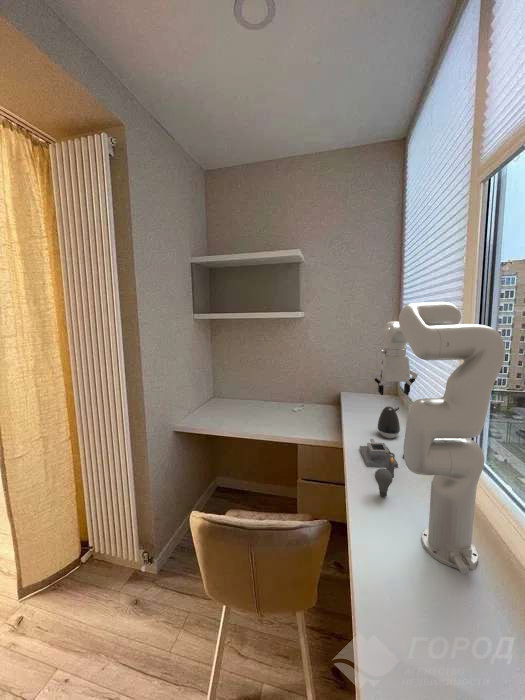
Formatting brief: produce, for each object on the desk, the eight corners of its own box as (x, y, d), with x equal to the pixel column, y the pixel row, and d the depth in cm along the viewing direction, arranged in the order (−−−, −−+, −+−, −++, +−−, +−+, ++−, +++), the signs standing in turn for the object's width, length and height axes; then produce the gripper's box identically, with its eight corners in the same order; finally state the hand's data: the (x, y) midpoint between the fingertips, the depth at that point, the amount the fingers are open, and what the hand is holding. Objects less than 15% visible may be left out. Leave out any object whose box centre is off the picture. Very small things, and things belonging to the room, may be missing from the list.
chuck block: (398, 467, 112) (398, 456, 111) (367, 466, 114) (367, 455, 113) (385, 447, 128) (385, 436, 127) (358, 446, 130) (358, 436, 129)
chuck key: (396, 481, 103) (397, 458, 102) (388, 481, 104) (389, 458, 102) (390, 470, 110) (391, 449, 109) (383, 470, 111) (383, 449, 109)
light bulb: (392, 493, 97) (393, 467, 95) (391, 503, 92) (392, 476, 91) (375, 489, 99) (375, 463, 98) (373, 499, 95) (374, 472, 93)
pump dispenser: (404, 439, 135) (405, 409, 132) (384, 441, 133) (385, 411, 131) (391, 430, 145) (392, 402, 142) (373, 432, 143) (373, 404, 141)
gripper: (374, 354, 108) (373, 397, 110) (422, 353, 105) (420, 397, 108) (370, 351, 115) (369, 391, 118) (414, 350, 113) (412, 391, 115)
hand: (393, 394), depth 113 cm, fingers open, 9 cm apart
